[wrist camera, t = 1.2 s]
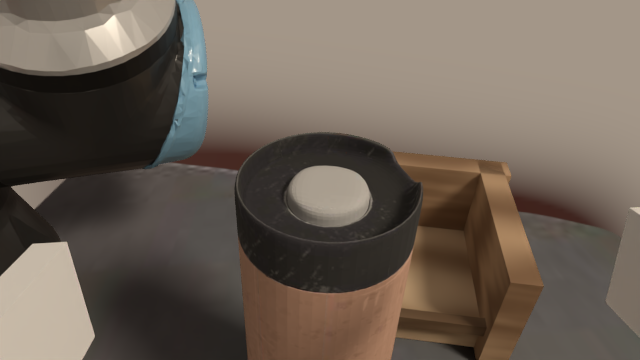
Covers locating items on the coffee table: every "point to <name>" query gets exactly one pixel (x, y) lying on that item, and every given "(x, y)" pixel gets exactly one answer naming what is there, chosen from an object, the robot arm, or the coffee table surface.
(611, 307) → the robot arm
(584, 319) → the coffee table surface
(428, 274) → the wooden holder
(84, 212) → the coffee table surface
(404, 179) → the travel mug
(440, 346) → the coffee table surface
